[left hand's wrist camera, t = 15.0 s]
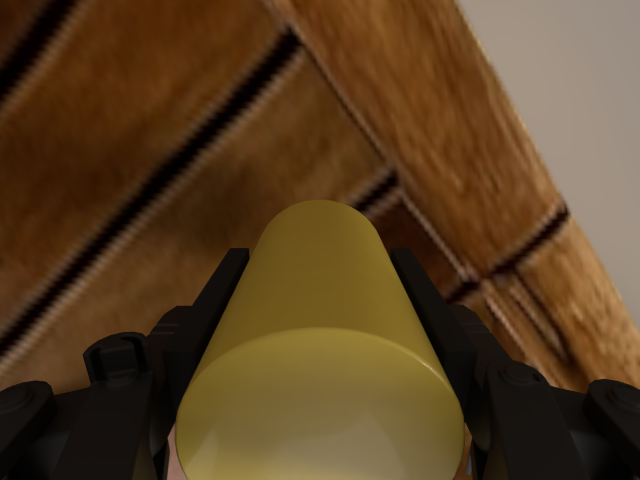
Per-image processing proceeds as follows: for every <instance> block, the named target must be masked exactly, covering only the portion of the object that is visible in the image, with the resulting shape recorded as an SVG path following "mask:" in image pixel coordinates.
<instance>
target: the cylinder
mask: <svg viewBox="0 0 640 480" xmlns="http://www.w3.org/2000/svg"><path fill="white" fill-rule="evenodd" d="M464 446H465V424H464V416H463V413H462V410H461V407H460V403H459V401H458V399H457V397H456V395H455V393H454V391H453V388H452V386H451V384H450V382H449V380H448V378H447V376H446V374H445V372H444V370H443V368H442V366H441V364H440V362H439V359H438V357H437V355H436V353H435V351H434V349H433V347H432V345H431V343H430V341H429V339H428V337H427V335H426V333H425V330H424V328H423V326H422V324H421V322H420V320H419V318H418V316H417V314H416V312H415V310H414V308H413V306H412V304H411V301H410V299H409V297H408V295H407V293H406V291H405V289H404V287H403V285H402V283H401V281H400V279H399V277H398V275H397V272H396V270H395V268H394V266H393V264H392V262H391V260H390V258H389V256H388V254H387V252H386V250H385V248H384V246H383V243H382V241H381V239H380V237H379V235H378V233H377V231H376V230H375V228H374V227H373V225H372V224H371V223H370V222H369V221H368V219H367V218H366V217H365V216H363V215H362V214H361V213H360V212H358V211H357V210H355V209H353V208H352V207H350V206H347V205H345V204H342V203H339V202H335V201H329V200H310V201H305V202H301V203H298V204H295V205H292V206H290V207H288V208H287V209H285V210H283V211H282V212H280V213H279V214H278V215H276V216H275V217H274V218H273V219H272V220H271V221H270V223H269V224H268V225H267V226H266V228H265V230H264V231H263V233H262V235H261V237H260V239H259V241H258V243H257V245H256V247H255V249H254V251H253V253H252V256H251V258H250V260H249V262H248V264H247V266H246V268H245V270H244V272H243V274H242V276H241V278H240V280H239V282H238V284H237V286H236V289H235V291H234V293H233V295H232V297H231V299H230V301H229V303H228V305H227V307H226V309H225V311H224V313H223V315H222V317H221V319H220V322H219V324H218V326H217V328H216V330H215V332H214V334H213V336H212V338H211V340H210V342H209V344H208V346H207V348H206V350H205V352H204V355H203V357H202V359H201V361H200V363H199V365H198V367H197V369H196V371H195V373H194V375H193V377H192V379H191V381H190V383H189V386H188V388H187V390H186V392H185V394H184V396H183V398H182V401H181V403H180V406H179V408H178V412H177V417H176V422H175V447H176V453H177V457H178V460H179V463H180V466H181V469H182V471H183V473H184V474H185V476H186V478H187V480H452V479H453V478H454V476H455V474H456V472H457V470H458V468H459V465H460V463H461V460H462V456H463V451H464Z"/></svg>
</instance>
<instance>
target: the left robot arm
mask: <svg viewBox="0 0 640 480" xmlns="http://www.w3.org/2000/svg"><path fill="white" fill-rule="evenodd" d="M249 260H250V258H249V248H230V249H229V251H228V252H227V254H226V255H225V257H224V258H223V260H222V261H221V263H220V264H219V266H218V267H217V269H216V270H215V272H214V273H213V275H212V276H211V278H210V279H209V281H208V282H207V284H206V285H205V287H204V288H203V290H202V291H201V293H200V294H199V296H198V297H197V299H196V300H195V302H194V303H193V305H192V306H176V307H175V308H173V309H172V310H170V311H169V312H167V313H166V314H164V315H163V317H162V318H161V319H160V320H159V322H158V323H157V325H156V326H155V327H154V328H153V329H152V331H151V332H150V335H148V336H147V337H146V336H144V335H143V334H142V333H137V332H122V333H118V334H114V335H110V336H108V337H105V338H103V339H101V340H99V341H97V342H96V343H94V344H93V345H91V346H90V347H88V349H87V350H86V351H85V352H84V353H83V358H84V361H85V365H86V368H87V372H88V375H89V379H90V382H91V386H90V387H88V388H85V389H81V390H77V391H72V392H68V393H63V394H59V395H54V394H53V391H52V388H51V386H50V385H49V384H48V383H47V382H44V381H29V382H23V383H20V384H16V385H13V386H11V387H8V388H6V389H4V390H2V391H1V392H0V480H167V476H168V467H169V458H170V447H169V441H168V436H169V434H170V432H171V430H172V428H173V426H174V423H175V422H176V417H177V412H178V408H179V406H180V403H181V401H182V398H183V396H184V394H185V392H186V390H187V388H188V386H189V383H190V381H191V379H192V377H193V375H194V373H195V371H196V369H197V367H198V365H199V363H200V361H201V359H202V357H203V355H204V352H205V350H206V348H207V346H208V344H209V342H210V340H211V338H212V336H213V334H214V332H215V330H216V328H217V326H218V324H219V322H220V319H221V317H222V315H223V313H224V311H225V309H226V307H227V305H228V303H229V301H230V299H231V297H232V295H233V293H234V291H235V289H236V286H237V284H238V282H239V280H240V278H241V276H242V274H243V272H244V270H245V268H246V266H247V264H248V262H249ZM390 260H391V262H392V264H393V266H394V268H395V270H396V272H397V275H398V277H399V279H400V281H401V283H402V285H403V287H404V289H405V291H406V293H407V295H408V297H409V299H410V301H411V304H412V306H413V308H414V310H415V312H416V314H417V316H418V318H419V320H420V322H421V324H422V326H423V328H424V330H425V333H426V335H427V337H428V339H429V341H430V343H431V345H432V347H433V349H434V351H435V353H436V355H437V357H438V359H439V362H440V364H441V366H442V368H443V370H444V372H445V374H446V376H447V378H448V380H449V382H450V384H451V386H452V388H453V391H454V393H455V395H456V397H457V399H458V401H459V403H460V407H461V410H462V413H463V416H464V424H465V422H466V424H467V426H468V429H469V431H470V433H471V435H472V441H471V446H470V451H469V456H468V461H467V466H466V473H465V474H469V475H470V473H471V468H472V475H473V480H640V390H639V389H637V388H635V387H633V386H631V385H629V384H625V383H623V382H619V381H614V380H608V379H600V380H594V381H593V382H592V383H590V384H589V387H588V390H587V393H586V394H584V393H579V392H575V391H570V390H566V389H561V388H557V387H553V386H550V385H549V383H548V382H547V380H546V379H545V377H544V376H543V375H542V374H540V373H539V372H538V371H537V370H535V369H534V368H532V367H530V366H528V365H526V364H524V363H521V362H518V361H514V360H512V359H511V358H510V356H509V355H508V354H507V353H506V351H505V350H504V349H503V347H502V346H501V345H500V344H499V342H498V341H497V340H496V338H495V337H494V336H493V335H492V333H490V331H489V330H488V328H487V327H486V326H485V325H484V324H483V322H482V321H481V319H480V318H479V317H478V315H477V314H476V313H475V312H473V311H472V310H470V309H469V308H467V307H466V306H464V305H447V304H446V302H445V301H444V299H443V298H442V296H441V295H440V293H439V292H438V290H437V289H436V287H435V286H434V284H433V283H432V281H431V280H430V278H429V277H428V275H427V274H426V272H425V271H424V269H423V268H422V266H421V265H420V263H419V262H418V260H417V259H416V257H415V256H414V254H413V253H412V251H411V250H410V248H391V256H390Z"/></svg>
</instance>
